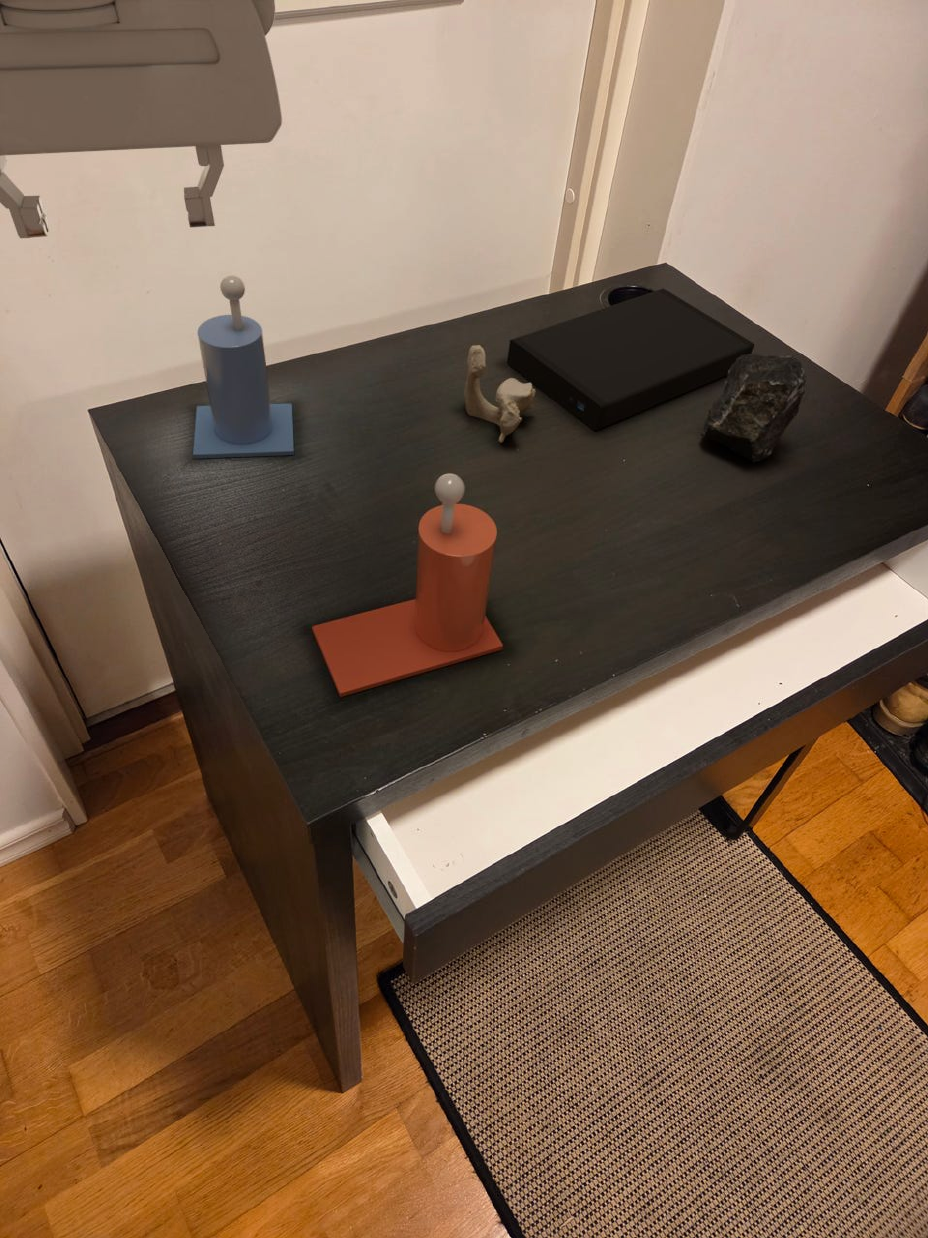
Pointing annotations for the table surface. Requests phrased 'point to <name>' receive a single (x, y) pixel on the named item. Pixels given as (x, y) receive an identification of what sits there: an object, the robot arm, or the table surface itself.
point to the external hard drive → (627, 357)
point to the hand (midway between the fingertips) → (120, 228)
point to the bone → (509, 396)
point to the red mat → (386, 648)
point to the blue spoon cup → (236, 371)
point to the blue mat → (271, 445)
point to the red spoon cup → (453, 569)
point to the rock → (756, 404)
